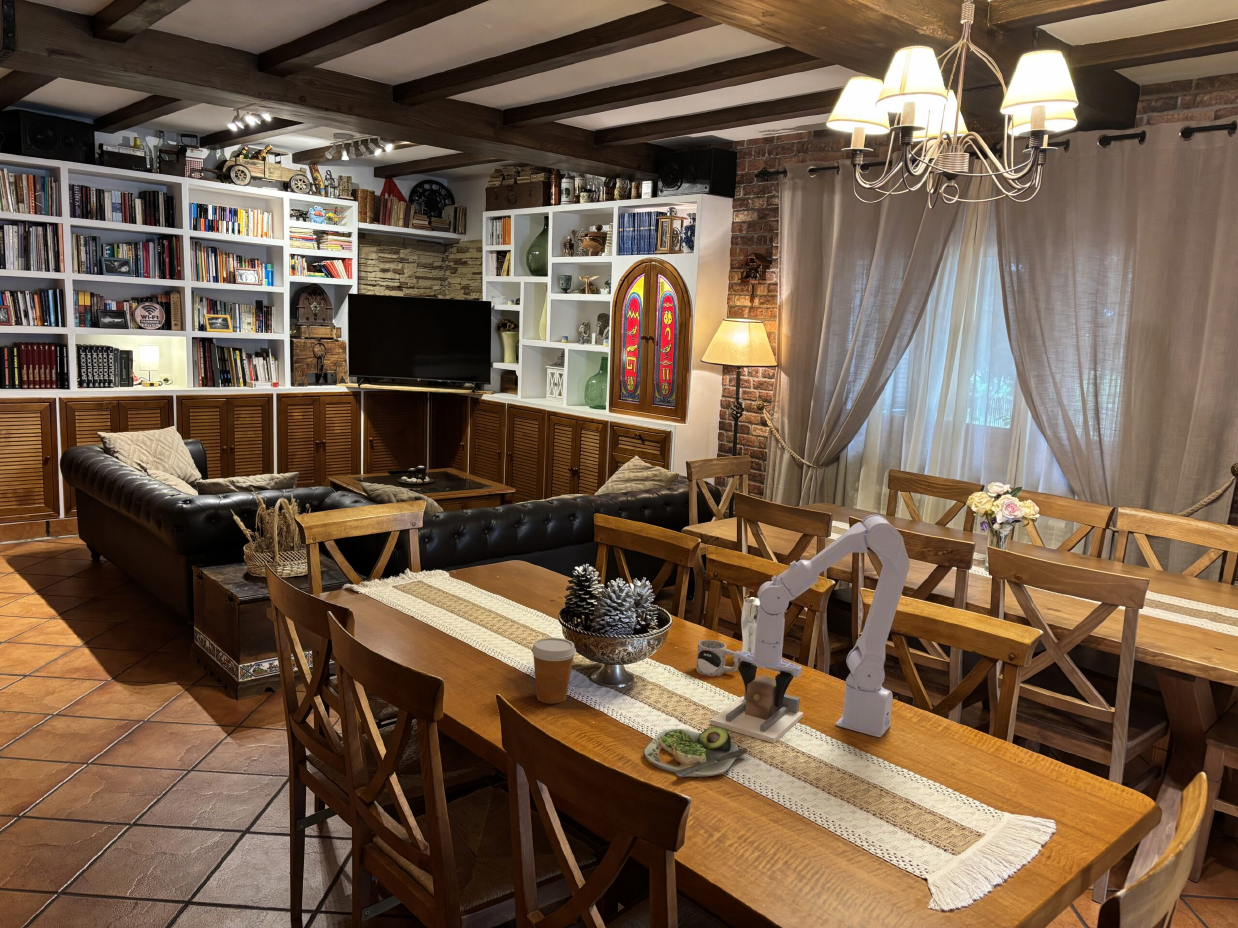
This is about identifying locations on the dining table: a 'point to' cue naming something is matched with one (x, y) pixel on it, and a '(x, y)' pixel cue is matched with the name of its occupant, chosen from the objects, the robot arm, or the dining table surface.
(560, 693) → the disposable coffee cup
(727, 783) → the dining table surface
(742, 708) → the cleat board
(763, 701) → the cabinet block
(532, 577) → the dining table surface
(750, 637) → the beer glass
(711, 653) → the mug
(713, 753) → the avocado toast plate
